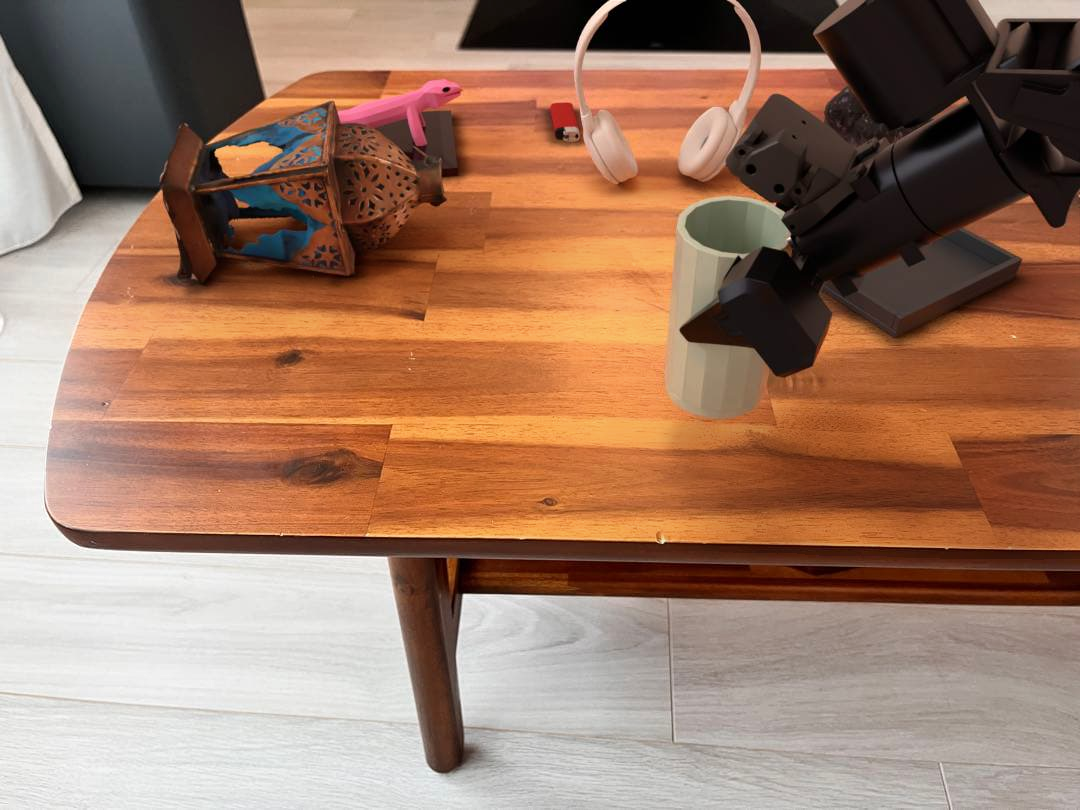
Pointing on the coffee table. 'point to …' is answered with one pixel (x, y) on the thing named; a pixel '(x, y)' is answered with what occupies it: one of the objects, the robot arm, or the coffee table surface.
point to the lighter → (564, 122)
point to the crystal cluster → (859, 121)
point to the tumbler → (699, 268)
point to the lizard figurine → (414, 122)
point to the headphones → (703, 140)
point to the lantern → (296, 193)
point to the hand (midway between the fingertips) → (703, 303)
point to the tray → (930, 282)
